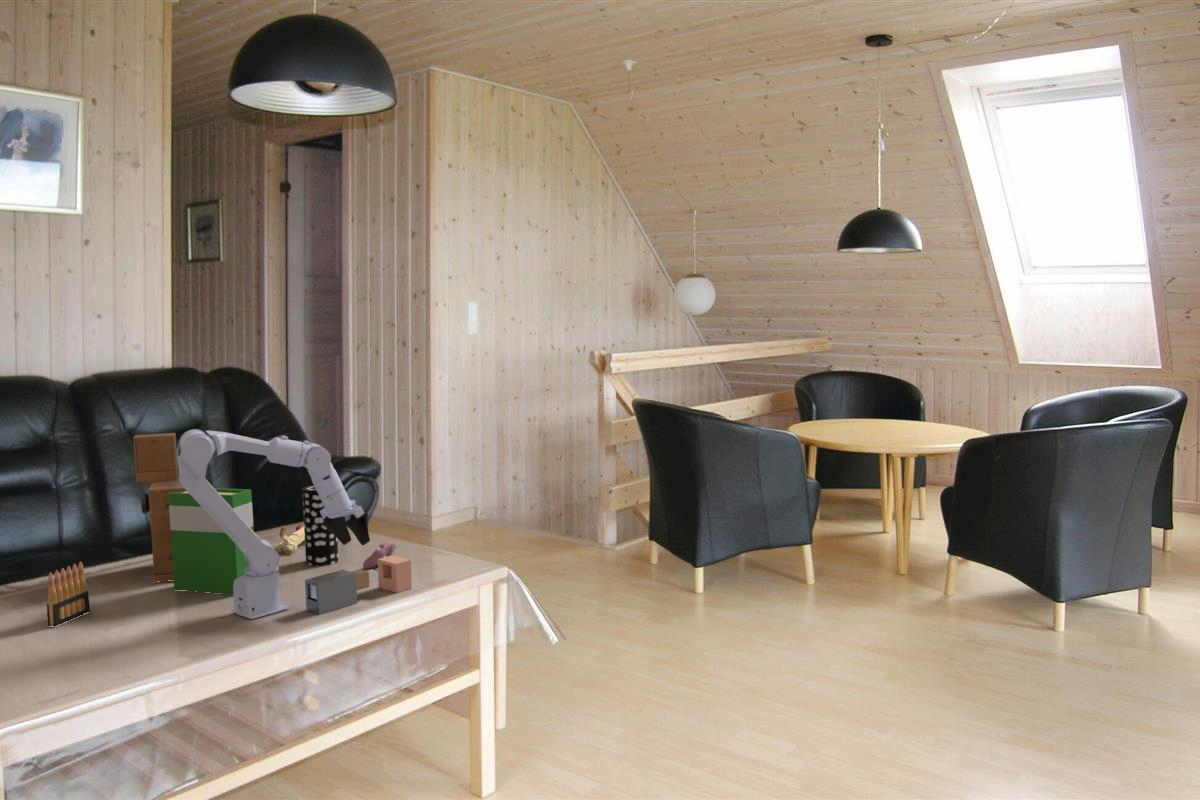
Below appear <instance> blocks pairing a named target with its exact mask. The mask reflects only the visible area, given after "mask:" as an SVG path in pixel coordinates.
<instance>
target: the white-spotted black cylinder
mask: <svg viewBox="0 0 1200 800" xmlns="http://www.w3.org/2000/svg"><path fill="white" fill-rule="evenodd" d="M301 491H302V492H301V493H302V508H303V510H302V512H303V527H304V533H305V540H304V548H305V549H304V550H305V551H304V553H305V565H307V566H310V565H312V566H311V567H324V566H330V564H331V565H333V564H336V563H337V562H339V547H338V545H339V543H338V541H339V540H338V538H337V537H336V536H335V535H334V534H333V533H332V532H331V531H330V530H329V529H328V528H326V527H325V526H323V525H322V523H323V522H324V521H325V520H326V518H323V517H322V515H321V513H320V511H321V510H322V509H324V508H325V507H324V505H323V503H322V501H321V499H320V496H319V494H318V492H317V490H316V488H315V486H314V484H313V485H308V486H304V487H303V488H302V489H301Z"/></svg>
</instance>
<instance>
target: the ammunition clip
mask: <svg viewBox="0 0 1200 800" xmlns="http://www.w3.org/2000/svg"><path fill="white" fill-rule="evenodd" d="M84 569H85V568H84V565H83V562H82V561H79V563H78V566H77V564H76V563H73V564H72V569H71V566H70V565H68V566H67V568H66V570H65V569H64V567H61V569H60V573H59V571H58V570H57V569H55V571H54V575H53V573H52V571H51V572H49V573H48V578H47V579H48V580H47V584H48V585H47V587H48V588H47V589H48V590H47V601H48V603H47V604H46V614H47V615H46V616H47V627H48V626H54V627H55V626H57V625H59V624H62V623H64V622H66V621H69V620H71V619H73V618H76V617H78V616H80V615H83V614H84V613H87V612H90V613H91V607H90V604H91V603H90V596H89V591H88V590H87V580H86V575H85V570H84Z"/></svg>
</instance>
